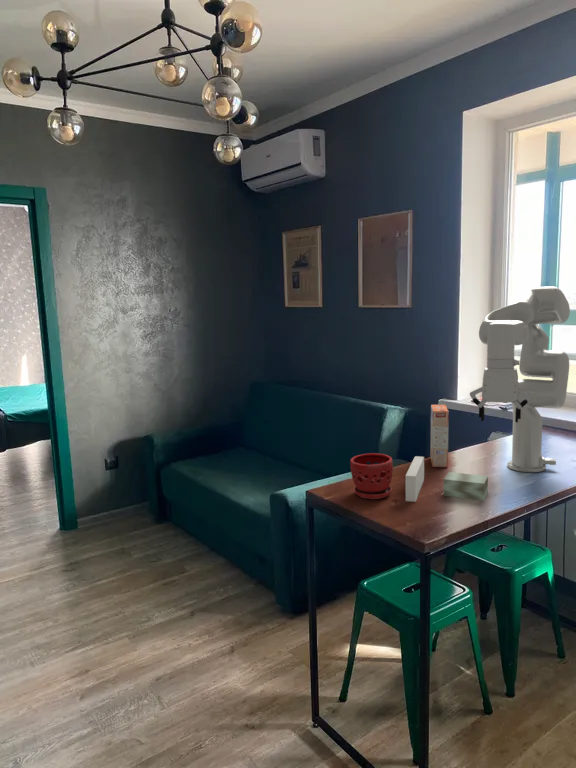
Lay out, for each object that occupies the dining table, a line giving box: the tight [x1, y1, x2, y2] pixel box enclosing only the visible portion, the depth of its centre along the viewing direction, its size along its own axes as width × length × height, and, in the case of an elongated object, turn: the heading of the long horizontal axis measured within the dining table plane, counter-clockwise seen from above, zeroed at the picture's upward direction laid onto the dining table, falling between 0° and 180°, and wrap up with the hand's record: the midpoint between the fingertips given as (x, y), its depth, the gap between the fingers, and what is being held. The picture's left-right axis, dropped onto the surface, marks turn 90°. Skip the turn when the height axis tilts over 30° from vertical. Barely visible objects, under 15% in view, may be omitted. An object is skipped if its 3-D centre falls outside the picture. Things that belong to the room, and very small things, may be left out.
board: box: [405, 455, 425, 503], centre depth 182 cm, size 3×22×8 cm, turn 160°
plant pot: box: [349, 452, 394, 500], centre depth 179 cm, size 13×13×12 cm
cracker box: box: [429, 404, 450, 468], centre depth 211 cm, size 14×6×21 cm, turn 168°
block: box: [443, 471, 489, 501], centre depth 177 cm, size 12×8×6 cm, turn 63°
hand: (499, 420), depth 171 cm, fingers open, 9 cm apart
